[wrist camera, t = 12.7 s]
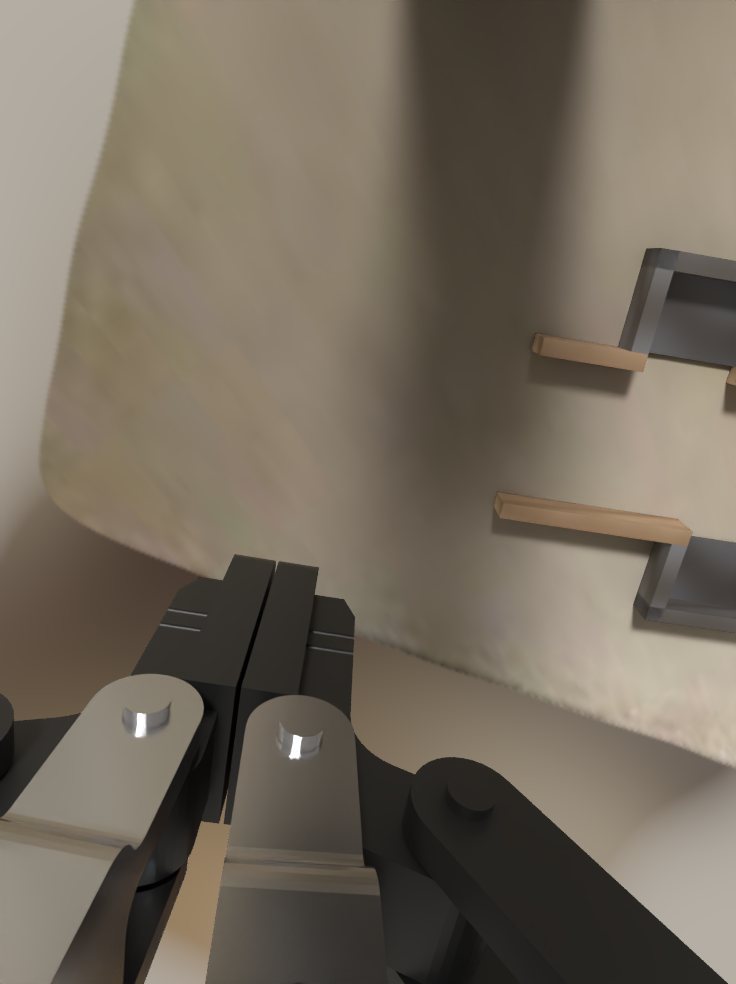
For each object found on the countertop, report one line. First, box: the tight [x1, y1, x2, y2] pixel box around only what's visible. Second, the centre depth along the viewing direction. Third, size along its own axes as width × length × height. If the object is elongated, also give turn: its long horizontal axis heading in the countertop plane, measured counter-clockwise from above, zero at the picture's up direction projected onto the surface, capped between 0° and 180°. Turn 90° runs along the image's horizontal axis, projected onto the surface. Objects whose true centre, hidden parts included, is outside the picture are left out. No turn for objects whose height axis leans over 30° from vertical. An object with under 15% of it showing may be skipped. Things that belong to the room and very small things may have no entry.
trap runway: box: [494, 248, 736, 633], centre depth 39 cm, size 22×26×2 cm
